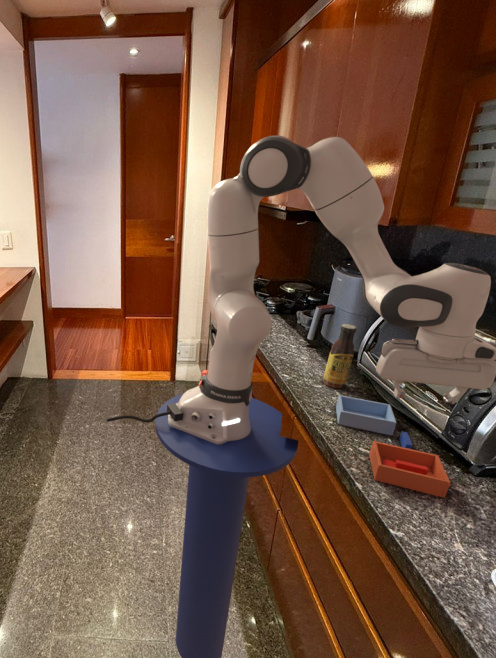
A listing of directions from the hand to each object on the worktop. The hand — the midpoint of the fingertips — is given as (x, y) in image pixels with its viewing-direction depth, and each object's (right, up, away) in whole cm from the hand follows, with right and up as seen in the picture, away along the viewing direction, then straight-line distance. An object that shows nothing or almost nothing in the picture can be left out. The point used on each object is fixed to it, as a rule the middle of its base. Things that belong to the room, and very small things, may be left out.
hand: (422, 399), depth 86 cm
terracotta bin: (-4, -17, 0) cm, 17 cm away
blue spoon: (+2, -13, +8) cm, 15 cm away
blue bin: (-1, -9, +19) cm, 21 cm away
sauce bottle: (+2, -1, +37) cm, 37 cm away
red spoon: (-5, -16, 0) cm, 17 cm away
